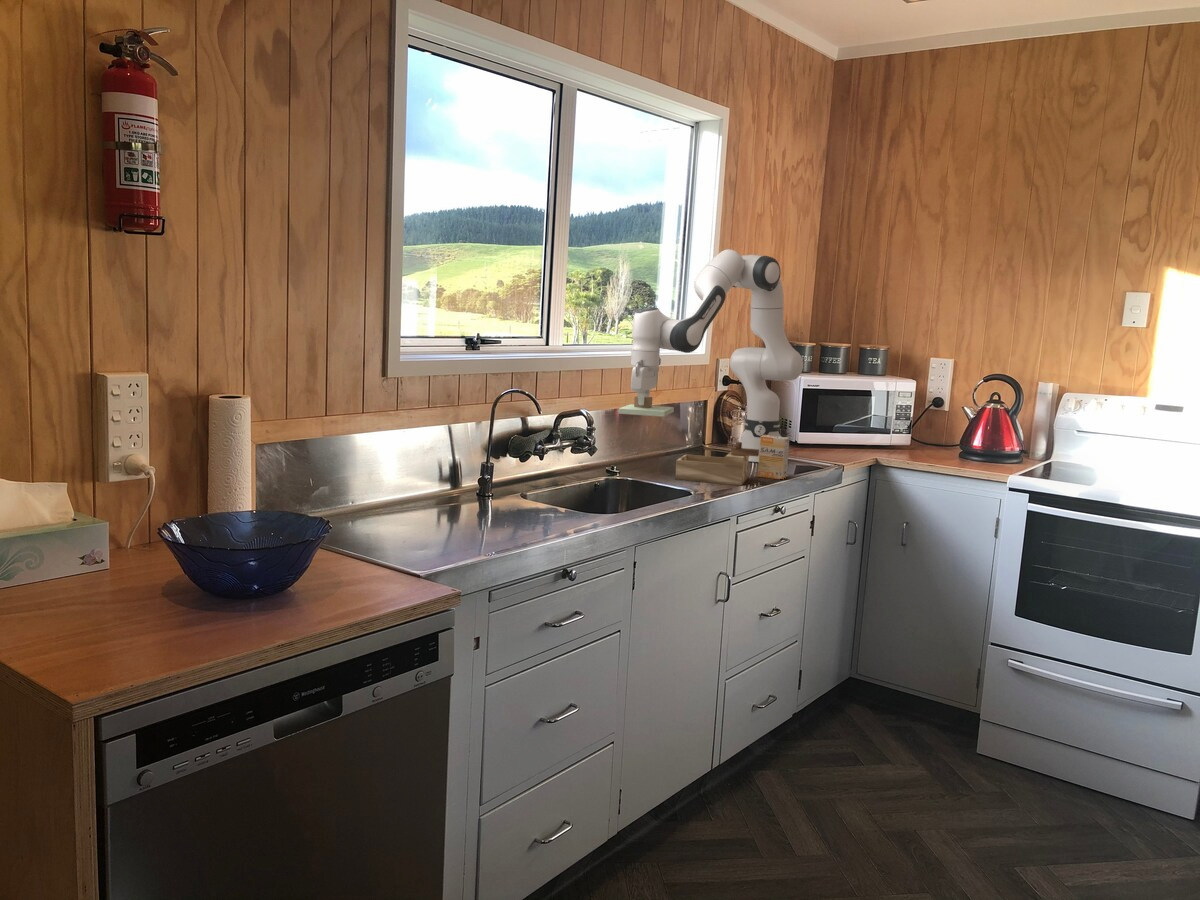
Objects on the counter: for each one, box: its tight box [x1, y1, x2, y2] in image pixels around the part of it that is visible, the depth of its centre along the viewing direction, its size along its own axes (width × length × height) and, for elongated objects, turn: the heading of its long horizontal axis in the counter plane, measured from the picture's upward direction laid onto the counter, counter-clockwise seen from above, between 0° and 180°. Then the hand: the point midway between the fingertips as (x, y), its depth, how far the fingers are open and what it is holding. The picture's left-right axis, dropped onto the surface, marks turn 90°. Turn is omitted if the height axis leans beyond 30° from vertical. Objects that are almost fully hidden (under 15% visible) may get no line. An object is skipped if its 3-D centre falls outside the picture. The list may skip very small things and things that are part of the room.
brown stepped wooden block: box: [730, 441, 759, 456], centre depth 288 cm, size 2×8×4 cm, turn 74°
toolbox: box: [674, 451, 749, 486], centre depth 294 cm, size 14×20×8 cm
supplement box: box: [757, 435, 790, 480], centre depth 300 cm, size 8×5×13 cm, turn 62°
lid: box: [617, 395, 675, 418], centre depth 299 cm, size 14×14×5 cm
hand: (643, 404), depth 301 cm, fingers closed on lid, 3 cm apart
